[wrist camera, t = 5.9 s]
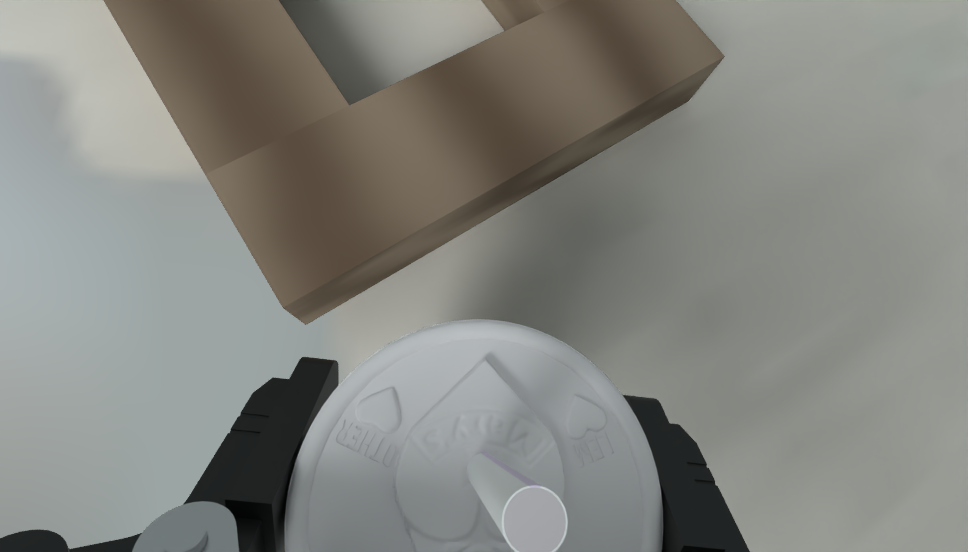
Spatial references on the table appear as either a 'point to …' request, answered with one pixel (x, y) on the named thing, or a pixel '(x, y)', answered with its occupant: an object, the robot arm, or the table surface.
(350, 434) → the smoothie
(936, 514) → the table surface
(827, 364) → the table surface
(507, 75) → the caddy
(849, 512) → the table surface
